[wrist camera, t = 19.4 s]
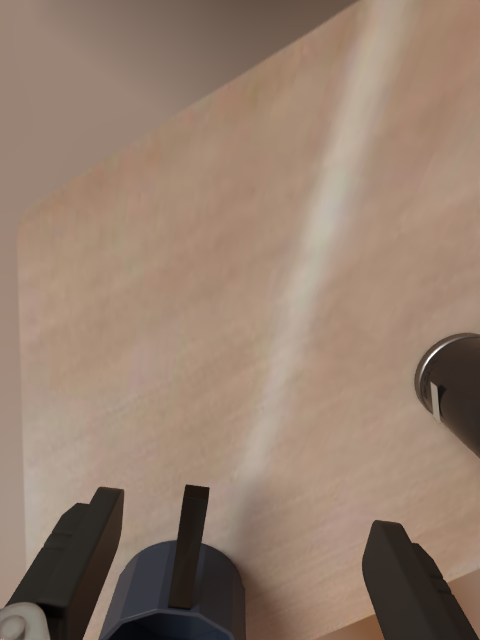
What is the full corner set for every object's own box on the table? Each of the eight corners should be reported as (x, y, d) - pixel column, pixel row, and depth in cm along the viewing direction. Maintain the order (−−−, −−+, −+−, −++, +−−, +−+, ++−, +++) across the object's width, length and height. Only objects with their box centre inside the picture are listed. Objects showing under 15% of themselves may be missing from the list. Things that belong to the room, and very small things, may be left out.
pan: (271, 454, 39) (280, 510, 32) (232, 641, 46) (232, 724, 39) (134, 436, 39) (108, 489, 31) (115, 628, 46) (91, 710, 38)
